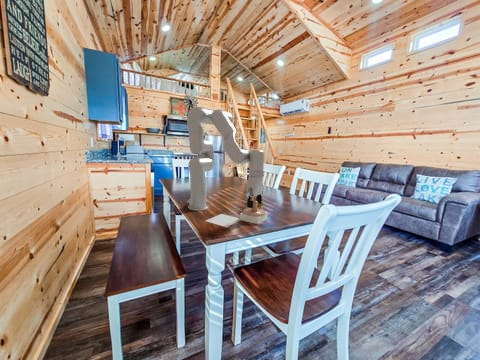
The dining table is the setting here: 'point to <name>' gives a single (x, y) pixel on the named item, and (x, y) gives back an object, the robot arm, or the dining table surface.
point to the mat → (223, 220)
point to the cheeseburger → (258, 204)
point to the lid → (254, 210)
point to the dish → (253, 218)
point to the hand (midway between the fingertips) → (254, 205)
